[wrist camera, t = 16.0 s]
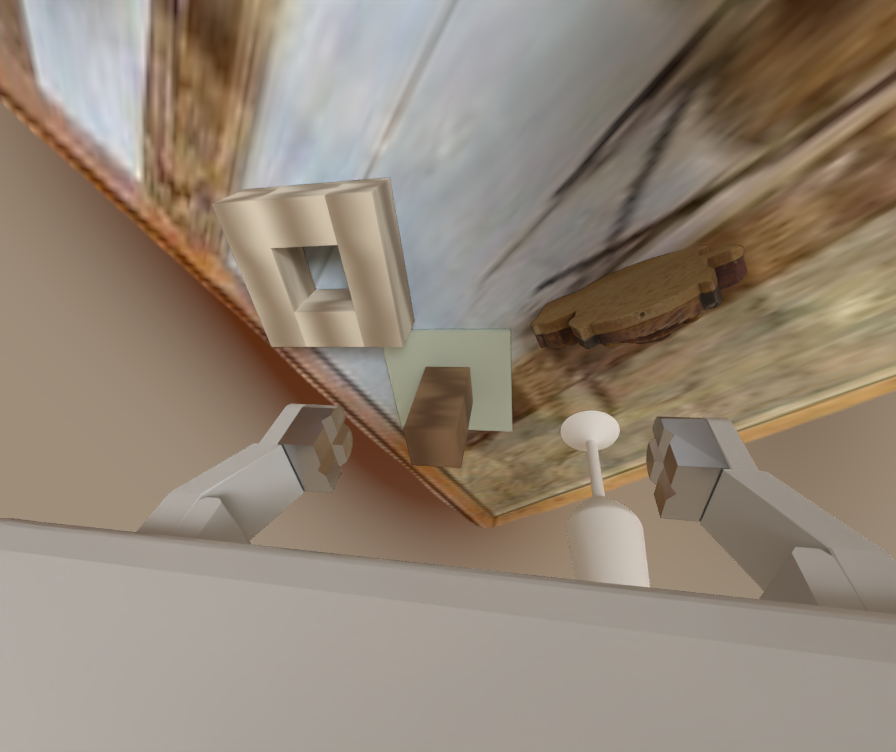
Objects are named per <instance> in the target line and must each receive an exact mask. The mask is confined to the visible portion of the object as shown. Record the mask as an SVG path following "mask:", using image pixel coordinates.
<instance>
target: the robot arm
mask: <svg viewBox="0 0 896 752" xmlns="http://www.w3.org/2000/svg"><path fill="white" fill-rule="evenodd" d="M345 418H346V415H345V413H344V410H343V408H342V407H340V406H329V405H312V404H307V405H305V404H290V405H288V406H286V407H285V408H284V410H283V411H282V413H281V414H280V415H279V417H278V418H277V419H276V421H275V422H274V423H273V425H272V426H271V428H270V429H269V430H268V432H267V433H266V434H265V436H264V437H263V439H262V440H261V441H260V442H259V444H252V445H250V446H249V447H247V448H245V449H243V450H242V451H240V452H238V453H237V454H235V455H233V456H231V457H230V458H228V459H226V460H225V461H223V462H221V463H219V464H218V465H216V466H214V467H213V468H211V469H209V470H207V471H206V472H204V473H202V474H201V475H199V476H197V477H196V478H194V479H192V480H190V481H189V482H187V483H185V484H184V485H182V486H180V487H178V488H177V489H175V490H173V491H172V492H170V493H169V494H168V495H167V497H166V498H165V499H164V500H163V501H162V503H161V504H160V505H159V506H158V507H157V509H155V511H154V512H153V513H152V514H151V515H150V517H149V518H148V519H147V520H146V521H145V522H144V524H143V525H142V526H141V527H140V528H139V529H138V531H137V532H131V531H120V530H112V529H103V528H94V527H83V526H74V525H65V524H56V523H47V522H37V521H30V520H22V519H14V518H0V752H896V563H895V562H894V560H893V559H892V558H891V556H890V555H889V553H887V552H886V551H884V550H882V549H881V548H879V547H878V546H876V545H875V544H874V543H872V542H871V541H869V540H868V539H866V538H865V537H863V536H862V535H860V534H859V533H857V532H856V531H854V530H853V529H851V528H850V527H848V526H847V525H845V524H844V523H842V522H841V521H839V520H838V519H837V518H835V517H834V516H832V515H830V514H829V513H828V512H826V511H825V510H823V509H822V508H820V507H819V506H817V505H816V504H814V503H813V502H811V501H810V500H808V499H806V498H805V497H804V496H802V495H801V494H799V493H798V492H796V491H795V490H793V489H792V488H790V487H789V486H787V485H786V484H784V483H783V482H781V481H780V480H778V479H777V478H775V477H774V476H772V475H771V474H769V473H768V472H766V471H759V470H758V469H757V467H756V465H755V463H754V461H753V460H752V458H751V456H750V454H749V453H748V451H747V449H746V447H745V445H744V443H743V442H742V440H741V438H740V436H739V434H738V433H737V431H736V429H735V427H734V426H733V424H732V422H731V421H730V420H729V419H728V418H690V417H656V419H655V421H654V424H653V428H652V430H653V433H654V436H655V438H653V439H652V440H651V441H649V443H648V448H647V458H646V463H647V471H648V475H649V479H650V480H651V481H652V482H653V483H654V484H656V489H655V492H654V497H655V500H656V504H657V507H658V511H659V514H660V518H666V519H676V520H686V521H695V522H701V523H700V524H701V525H702V526H703V527H704V528H705V529H706V531H707V532H708V533H709V534H710V535H711V536H712V537H713V538H714V539H715V540H716V541H717V542H718V543H719V544H720V545H721V546H722V547H723V548H724V550H725V551H726V552H727V553H728V554H729V555H730V556H731V557H732V558H733V559H734V560H735V561H736V562H737V563H738V564H739V565H740V566H741V567H742V568H743V569H744V571H745V572H746V573H747V574H748V575H749V576H750V577H751V578H752V579H753V580H754V581H755V582H756V583H757V584H758V585H759V586H760V587H761V589H762V590H763V591H764V593H763V594H762V596H761V597H760V598H759V599H751V598H742V597H733V596H724V595H715V594H705V593H696V592H687V591H677V590H668V589H658V588H650V587H641V586H631V585H622V584H613V583H603V582H594V581H584V580H575V579H565V578H556V577H546V576H537V575H528V574H519V573H509V572H500V571H491V570H482V569H472V568H462V567H454V566H445V565H435V564H426V563H417V562H408V561H399V560H390V559H380V558H371V557H362V556H353V555H343V554H334V553H324V552H315V551H306V550H297V549H288V548H279V547H269V546H260V545H251V543H250V542H249V541H250V540H251V539H252V538H253V537H254V536H255V535H257V534H258V533H259V532H260V531H261V530H262V529H263V528H265V527H266V526H267V525H268V524H269V523H270V522H271V521H273V520H274V519H275V518H276V517H277V516H278V515H279V514H281V513H282V512H283V511H284V510H285V509H286V508H287V507H288V506H290V505H291V504H292V503H293V502H294V501H295V500H296V499H298V498H299V497H300V496H301V495H302V494H303V493H304V491H309V492H330V493H332V492H333V490H334V488H335V486H336V484H337V482H338V480H339V478H340V476H341V474H342V473H341V470H340V466H341V465H343V464H344V463H345V462H347V461H348V459H349V457H350V454H351V451H352V445H353V440H352V433H351V430H350V428H349V427H348V426H346V425H345V424H344V423H343V422H344V420H345Z"/></svg>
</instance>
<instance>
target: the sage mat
mask: <svg viewBox="0 0 896 752" xmlns="http://www.w3.org/2000/svg"><path fill="white" fill-rule="evenodd" d="M383 351H384V355H385V359H386V364H387V368H388V372H389V376H390V381H391V385H392V389H393V394H394V398H395V402H396V406H397V411H398V415H399V419H400V424H401V427H404V425H405V423H406V420H407V417H408V414H409V412H410V409H411V406H412V403H413V400H414V398H415V395H416V392H417V389H418V387H419V384H420V381H421V378H422V375H423V373H424V370H425V367H470V373H471V385H472V396H473V405H472V410H471V416H470V421H469V427H468V430H485V431H509V432H512V384H511V329H442V330H410V332H409V335H408V337H407V339H406V341H405V343H404V345H403V347H383Z"/></svg>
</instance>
